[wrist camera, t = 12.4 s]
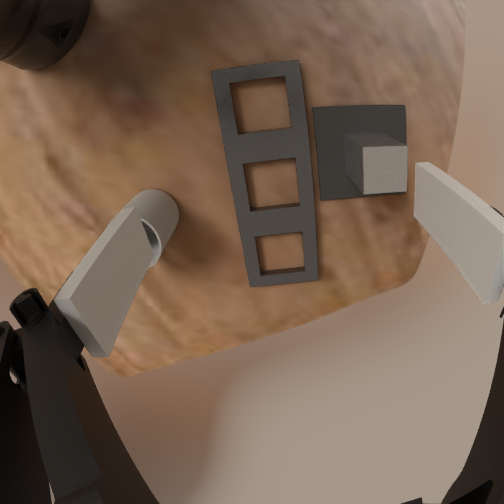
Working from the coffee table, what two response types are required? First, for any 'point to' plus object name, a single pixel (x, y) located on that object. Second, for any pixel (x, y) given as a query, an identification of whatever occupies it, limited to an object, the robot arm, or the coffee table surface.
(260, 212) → the rail
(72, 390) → the robot arm
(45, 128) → the coffee table surface
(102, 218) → the coffee table surface
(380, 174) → the grey rectangular block
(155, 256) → the cup
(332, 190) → the rubber mat
